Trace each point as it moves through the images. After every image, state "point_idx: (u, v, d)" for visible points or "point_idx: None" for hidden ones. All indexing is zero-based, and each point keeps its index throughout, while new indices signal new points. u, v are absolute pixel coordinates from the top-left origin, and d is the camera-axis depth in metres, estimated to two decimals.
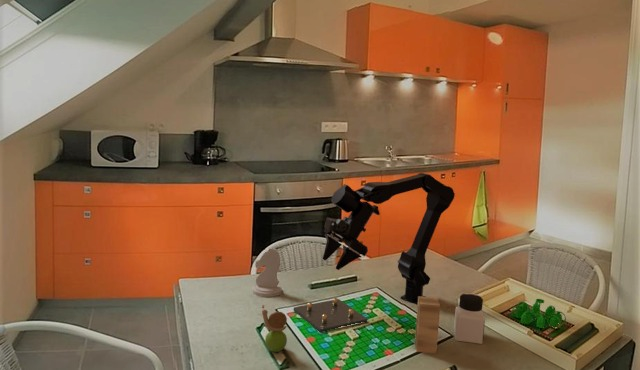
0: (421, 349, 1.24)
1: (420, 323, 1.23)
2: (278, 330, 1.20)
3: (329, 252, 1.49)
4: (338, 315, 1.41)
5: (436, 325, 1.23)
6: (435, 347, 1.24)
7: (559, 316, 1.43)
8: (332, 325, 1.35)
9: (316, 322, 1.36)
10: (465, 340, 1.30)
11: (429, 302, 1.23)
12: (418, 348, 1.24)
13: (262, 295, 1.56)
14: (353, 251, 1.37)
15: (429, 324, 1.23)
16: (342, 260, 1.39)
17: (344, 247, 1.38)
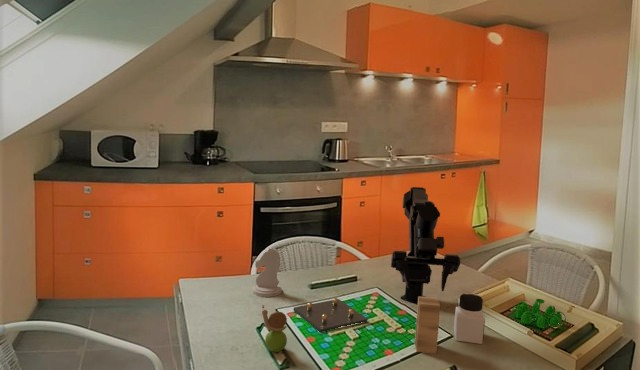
0: (421, 349, 1.24)
1: (420, 323, 1.23)
2: (278, 330, 1.20)
3: None
4: (338, 315, 1.41)
5: (436, 325, 1.23)
6: (435, 347, 1.24)
7: (559, 316, 1.43)
8: (332, 325, 1.35)
9: (316, 322, 1.36)
10: (465, 340, 1.30)
11: (429, 302, 1.23)
12: (418, 348, 1.24)
13: (262, 295, 1.56)
14: None
15: (429, 324, 1.23)
16: (446, 279, 1.32)
17: (449, 265, 1.33)
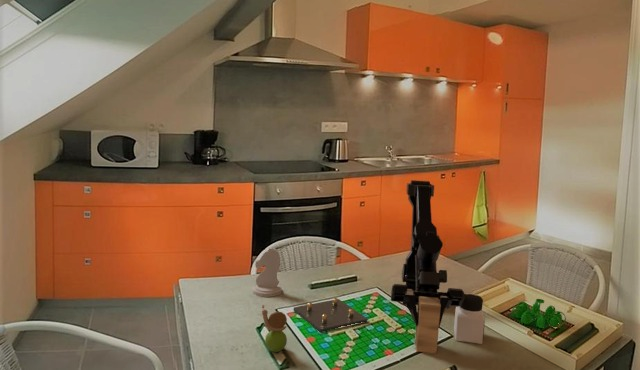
0: (421, 349, 1.24)
1: (420, 323, 1.23)
2: (278, 330, 1.20)
3: None
4: (338, 315, 1.41)
5: (436, 325, 1.23)
6: (435, 347, 1.24)
7: (559, 316, 1.43)
8: (332, 325, 1.35)
9: (316, 322, 1.36)
10: (465, 340, 1.30)
11: (429, 302, 1.23)
12: (418, 348, 1.24)
13: (262, 295, 1.56)
14: None
15: (429, 324, 1.23)
16: (442, 315, 1.25)
17: (445, 299, 1.25)
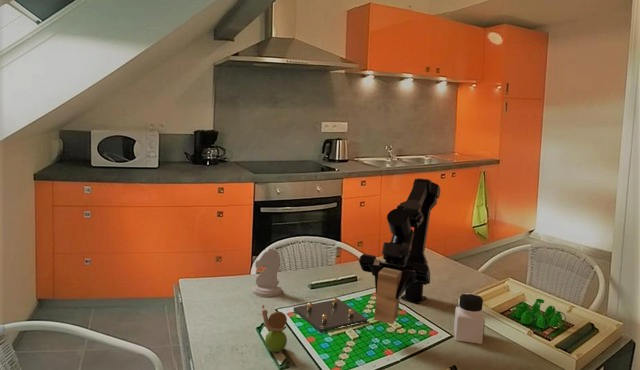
0: (378, 318, 1.27)
1: (378, 292, 1.26)
2: (278, 330, 1.20)
3: None
4: (338, 315, 1.41)
5: (393, 296, 1.24)
6: (391, 318, 1.25)
7: (559, 316, 1.43)
8: (332, 325, 1.35)
9: (316, 322, 1.36)
10: (465, 340, 1.30)
11: (388, 273, 1.25)
12: (376, 316, 1.27)
13: (262, 295, 1.56)
14: (415, 276, 1.27)
15: (386, 294, 1.25)
16: (403, 287, 1.26)
17: (407, 272, 1.26)
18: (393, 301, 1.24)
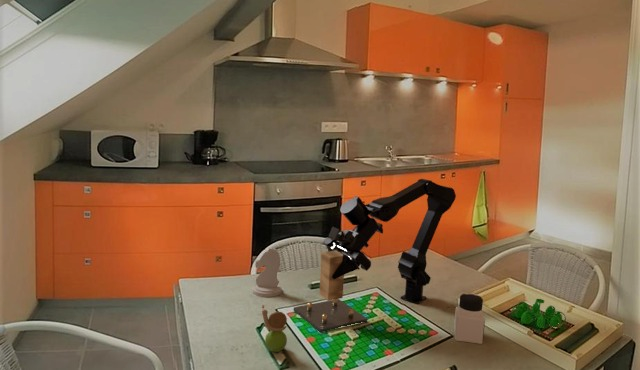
0: (321, 293, 1.42)
1: (321, 270, 1.41)
2: (278, 330, 1.20)
3: None
4: (338, 315, 1.41)
5: (328, 274, 1.38)
6: (327, 295, 1.39)
7: (559, 316, 1.43)
8: (332, 325, 1.35)
9: (316, 322, 1.36)
10: (465, 340, 1.30)
11: (329, 254, 1.39)
12: (320, 291, 1.42)
13: (262, 295, 1.56)
14: (353, 262, 1.36)
15: (325, 272, 1.39)
16: (340, 269, 1.37)
17: (345, 256, 1.37)
18: (328, 279, 1.38)
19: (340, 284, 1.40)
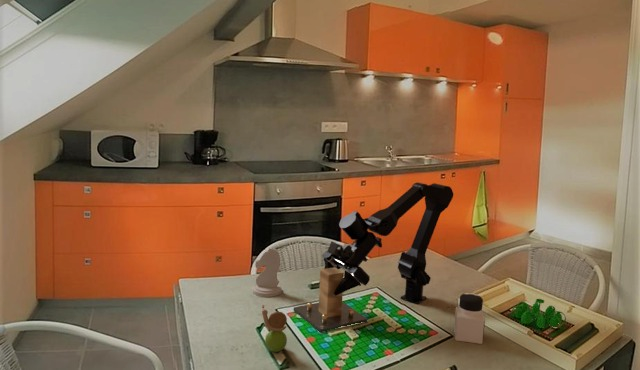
0: (320, 310, 1.43)
1: (320, 286, 1.42)
2: (278, 330, 1.20)
3: None
4: (338, 315, 1.41)
5: (327, 291, 1.39)
6: (326, 312, 1.40)
7: (559, 316, 1.43)
8: (332, 325, 1.35)
9: (316, 322, 1.36)
10: (465, 340, 1.30)
11: (328, 271, 1.40)
12: (319, 308, 1.43)
13: (262, 295, 1.56)
14: (355, 278, 1.36)
15: (323, 289, 1.40)
16: (341, 286, 1.37)
17: (346, 273, 1.36)
18: (327, 296, 1.39)
19: (339, 301, 1.41)
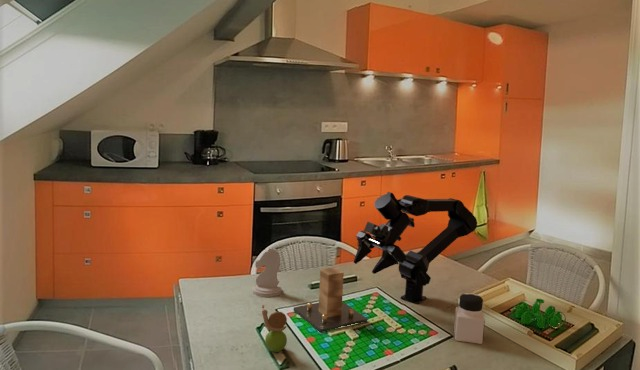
0: (320, 310, 1.43)
1: (320, 286, 1.42)
2: (278, 330, 1.20)
3: (360, 257, 1.51)
4: (338, 315, 1.41)
5: (327, 291, 1.39)
6: (326, 312, 1.40)
7: (559, 316, 1.43)
8: (332, 325, 1.35)
9: (316, 322, 1.36)
10: (465, 340, 1.30)
11: (328, 271, 1.40)
12: (319, 308, 1.43)
13: (262, 295, 1.56)
14: (393, 257, 1.41)
15: (323, 289, 1.40)
16: (380, 264, 1.42)
17: (384, 252, 1.41)
18: (327, 296, 1.39)
19: (339, 301, 1.41)
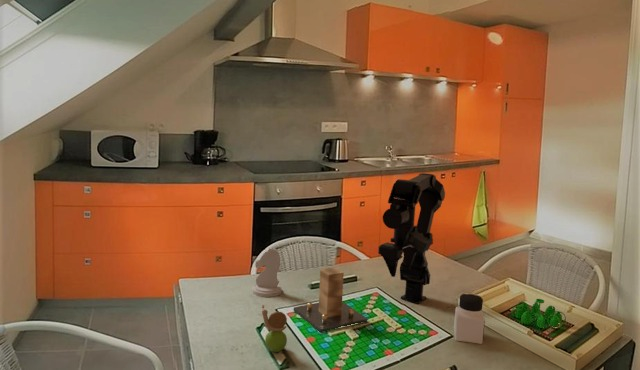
0: (320, 310, 1.43)
1: (320, 286, 1.42)
2: (278, 330, 1.20)
3: None
4: (338, 315, 1.41)
5: (327, 291, 1.39)
6: (326, 312, 1.40)
7: (559, 316, 1.43)
8: (332, 325, 1.35)
9: (316, 322, 1.36)
10: (465, 340, 1.30)
11: (328, 271, 1.40)
12: (319, 308, 1.43)
13: (262, 295, 1.56)
14: None
15: (323, 289, 1.40)
16: None
17: None
18: (327, 296, 1.39)
19: (339, 301, 1.41)
